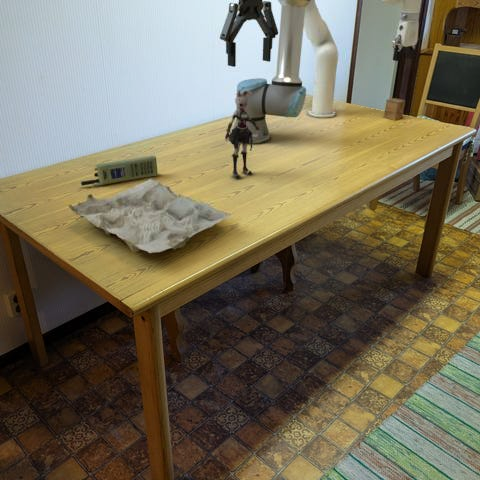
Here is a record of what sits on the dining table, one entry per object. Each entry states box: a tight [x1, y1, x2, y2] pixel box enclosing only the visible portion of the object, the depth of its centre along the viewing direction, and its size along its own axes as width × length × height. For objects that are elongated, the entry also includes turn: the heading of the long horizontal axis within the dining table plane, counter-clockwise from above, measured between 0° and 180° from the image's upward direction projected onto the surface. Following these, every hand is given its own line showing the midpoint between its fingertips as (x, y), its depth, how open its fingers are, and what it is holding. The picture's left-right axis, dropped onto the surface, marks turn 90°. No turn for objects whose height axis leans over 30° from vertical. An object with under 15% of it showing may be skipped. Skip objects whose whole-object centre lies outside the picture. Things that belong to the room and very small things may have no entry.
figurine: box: [224, 86, 260, 179], centre depth 165 cm, size 15×6×30 cm, turn 132°
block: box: [383, 97, 406, 121], centre depth 234 cm, size 6×6×8 cm
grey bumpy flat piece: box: [68, 178, 232, 254], centre depth 138 cm, size 38×6×30 cm
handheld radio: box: [80, 155, 159, 187], centre depth 164 cm, size 7×3×25 cm
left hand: (249, 63), depth 150 cm, fingers open, 13 cm apart
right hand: (402, 59), depth 223 cm, fingers open, 9 cm apart
